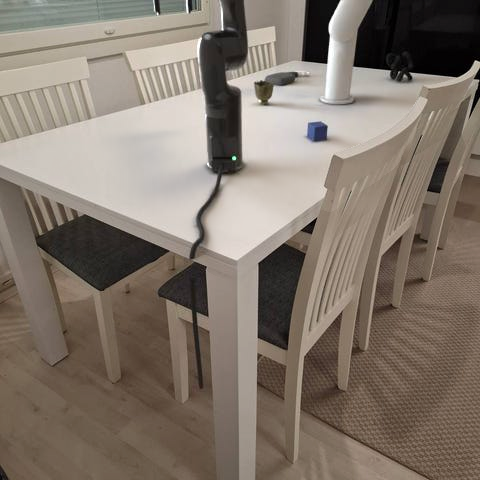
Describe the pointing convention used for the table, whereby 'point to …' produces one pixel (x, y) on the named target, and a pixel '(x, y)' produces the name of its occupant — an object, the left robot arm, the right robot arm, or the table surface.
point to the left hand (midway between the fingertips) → (173, 14)
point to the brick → (317, 131)
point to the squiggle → (399, 66)
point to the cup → (263, 91)
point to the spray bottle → (284, 77)
